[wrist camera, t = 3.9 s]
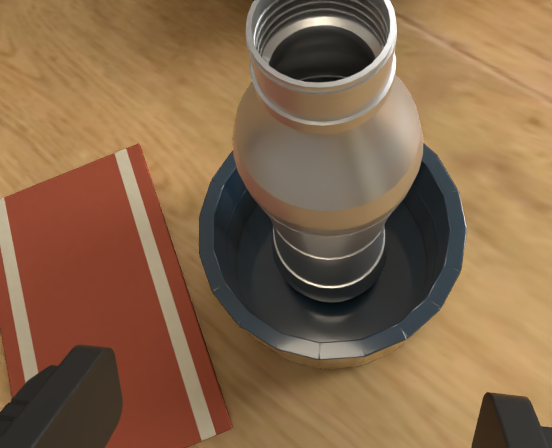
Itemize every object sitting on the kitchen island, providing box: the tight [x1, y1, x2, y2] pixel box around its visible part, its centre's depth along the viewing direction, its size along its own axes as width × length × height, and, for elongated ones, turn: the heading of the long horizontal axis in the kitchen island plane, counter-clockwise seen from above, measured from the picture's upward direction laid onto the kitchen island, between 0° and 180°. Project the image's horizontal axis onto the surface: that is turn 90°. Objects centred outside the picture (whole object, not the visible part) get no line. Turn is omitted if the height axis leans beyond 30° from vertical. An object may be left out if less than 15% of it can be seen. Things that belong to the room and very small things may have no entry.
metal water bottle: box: [232, 0, 423, 302], centre depth 21 cm, size 6×7×20 cm
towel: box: [0, 144, 233, 448], centre depth 31 cm, size 20×12×1 cm, turn 21°
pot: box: [199, 143, 467, 369], centre depth 28 cm, size 13×13×6 cm
